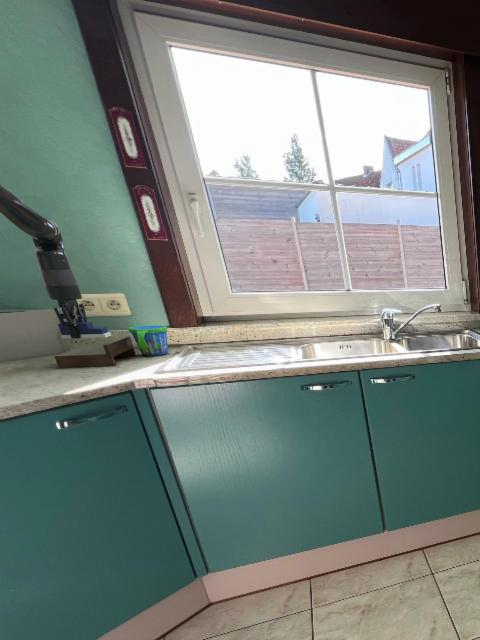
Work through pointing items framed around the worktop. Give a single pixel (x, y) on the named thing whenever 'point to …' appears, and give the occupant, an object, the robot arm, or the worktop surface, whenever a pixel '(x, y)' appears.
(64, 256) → the robot arm
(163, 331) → the snack cup
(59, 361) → the wooden display stand
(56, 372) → the worktop surface
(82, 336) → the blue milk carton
